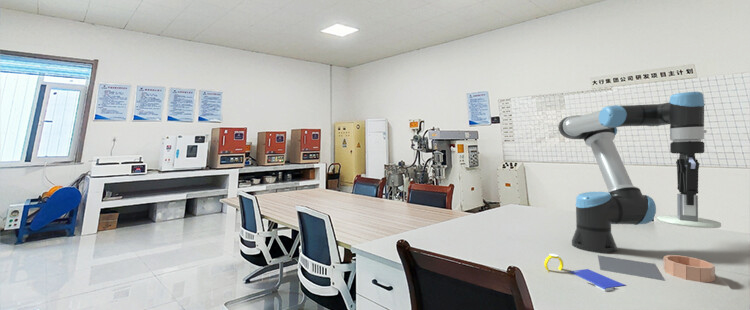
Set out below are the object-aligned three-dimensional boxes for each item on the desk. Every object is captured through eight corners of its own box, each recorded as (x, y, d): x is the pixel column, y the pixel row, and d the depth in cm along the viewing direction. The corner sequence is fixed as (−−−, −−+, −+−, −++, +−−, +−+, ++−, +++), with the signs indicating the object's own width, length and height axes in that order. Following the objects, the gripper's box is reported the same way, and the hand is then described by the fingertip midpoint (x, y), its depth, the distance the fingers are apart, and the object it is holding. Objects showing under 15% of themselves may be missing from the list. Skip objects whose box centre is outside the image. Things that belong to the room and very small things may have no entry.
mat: (600, 271, 100) (600, 269, 100) (597, 257, 113) (597, 255, 113) (665, 283, 91) (665, 280, 91) (654, 266, 104) (654, 263, 104)
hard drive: (568, 271, 99) (604, 287, 86) (588, 268, 100) (626, 284, 88) (568, 275, 99) (604, 293, 86) (588, 273, 100) (626, 289, 88)
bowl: (668, 279, 93) (668, 263, 93) (660, 267, 102) (660, 253, 102) (720, 287, 87) (720, 270, 87) (707, 274, 96) (706, 259, 96)
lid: (662, 224, 93) (661, 195, 93) (653, 215, 104) (653, 190, 104) (729, 230, 85) (728, 199, 85) (711, 220, 96) (711, 193, 96)
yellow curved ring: (559, 270, 102) (559, 253, 102) (564, 274, 99) (565, 256, 99) (542, 270, 102) (543, 253, 102) (547, 273, 99) (548, 256, 99)
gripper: (713, 140, 86) (713, 220, 86) (695, 141, 99) (696, 210, 99) (676, 141, 90) (677, 217, 90) (664, 141, 103) (665, 208, 103)
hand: (687, 214), depth 94 cm, fingers closed on lid, 3 cm apart
